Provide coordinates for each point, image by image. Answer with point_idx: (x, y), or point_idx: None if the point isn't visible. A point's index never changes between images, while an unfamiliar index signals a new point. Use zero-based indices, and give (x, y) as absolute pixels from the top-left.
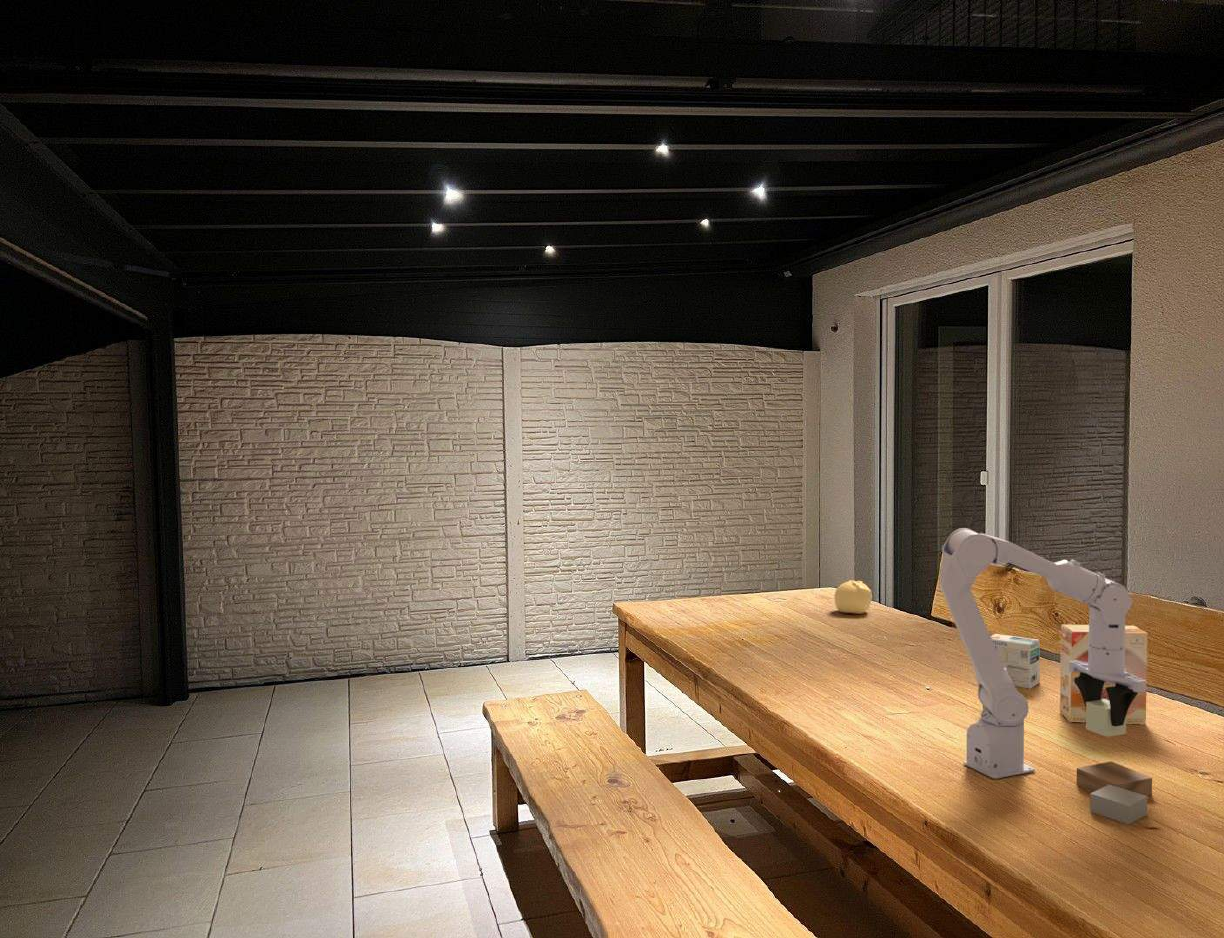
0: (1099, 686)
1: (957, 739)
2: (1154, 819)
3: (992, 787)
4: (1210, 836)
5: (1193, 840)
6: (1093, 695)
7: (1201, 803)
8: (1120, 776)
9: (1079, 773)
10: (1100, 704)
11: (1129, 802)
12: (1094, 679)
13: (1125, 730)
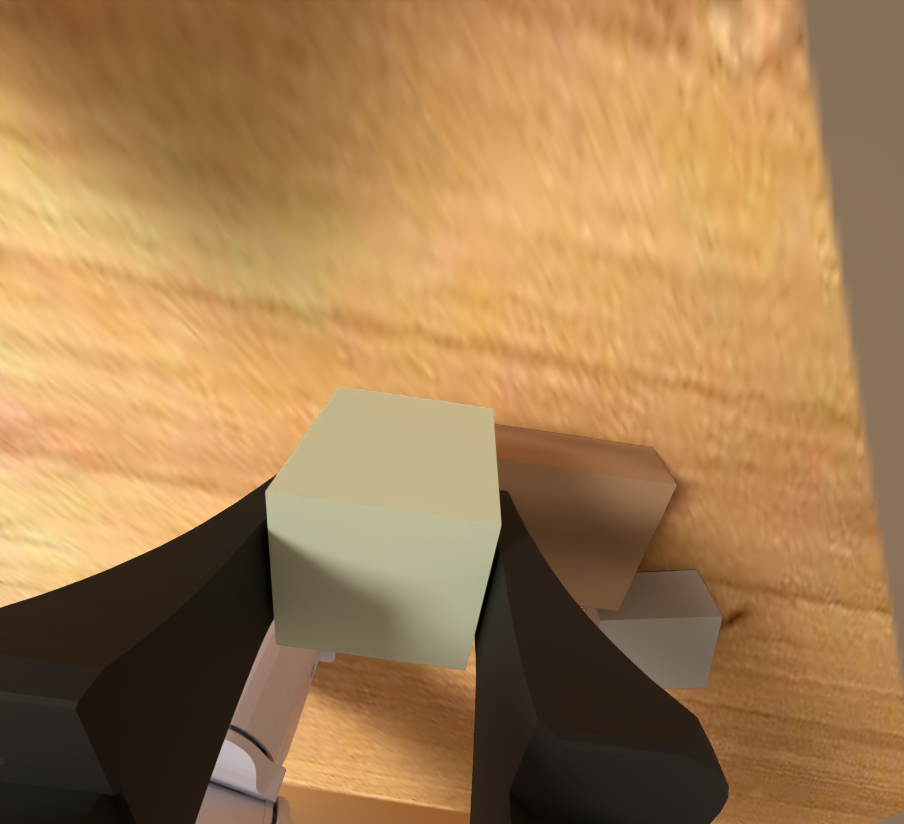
0: (191, 653)
1: (22, 523)
2: (721, 578)
3: (369, 681)
4: (873, 565)
5: (837, 609)
6: (245, 626)
7: (807, 377)
8: (591, 551)
9: None
10: (365, 626)
11: (698, 674)
12: (142, 810)
13: (492, 420)
